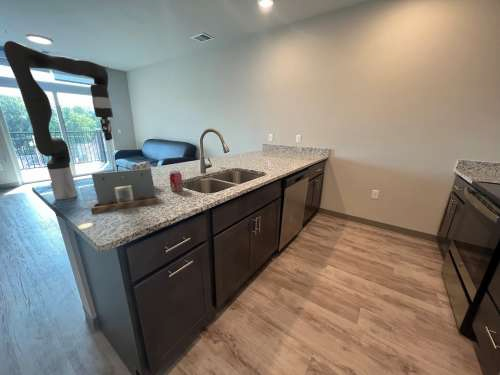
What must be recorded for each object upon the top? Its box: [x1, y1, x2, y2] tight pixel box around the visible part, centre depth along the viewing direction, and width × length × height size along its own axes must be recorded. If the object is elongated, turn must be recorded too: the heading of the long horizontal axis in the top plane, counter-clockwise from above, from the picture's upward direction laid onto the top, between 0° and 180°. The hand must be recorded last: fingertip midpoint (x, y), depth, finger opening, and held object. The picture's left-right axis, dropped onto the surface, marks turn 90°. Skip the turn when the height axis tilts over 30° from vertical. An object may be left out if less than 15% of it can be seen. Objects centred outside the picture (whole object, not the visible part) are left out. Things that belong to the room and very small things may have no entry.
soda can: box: [169, 170, 184, 193], centre depth 127 cm, size 7×7×12 cm
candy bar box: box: [131, 161, 154, 185], centre depth 132 cm, size 11×5×16 cm, turn 168°
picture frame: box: [115, 185, 134, 203], centre depth 104 cm, size 7×3×10 cm, turn 118°
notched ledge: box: [90, 194, 158, 214], centre depth 105 cm, size 28×7×3 cm, turn 117°
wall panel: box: [91, 169, 155, 203], centre depth 112 cm, size 27×3×16 cm, turn 117°
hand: (109, 139), depth 109 cm, fingers open, 8 cm apart
